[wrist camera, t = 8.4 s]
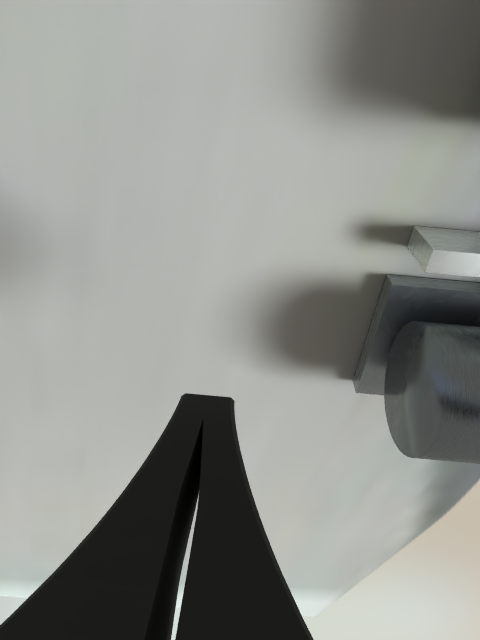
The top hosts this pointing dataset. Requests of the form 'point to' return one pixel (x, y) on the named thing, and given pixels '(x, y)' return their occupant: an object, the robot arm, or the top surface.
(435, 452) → the motor unit
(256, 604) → the robot arm
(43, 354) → the top surface
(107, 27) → the top surface
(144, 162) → the top surface
